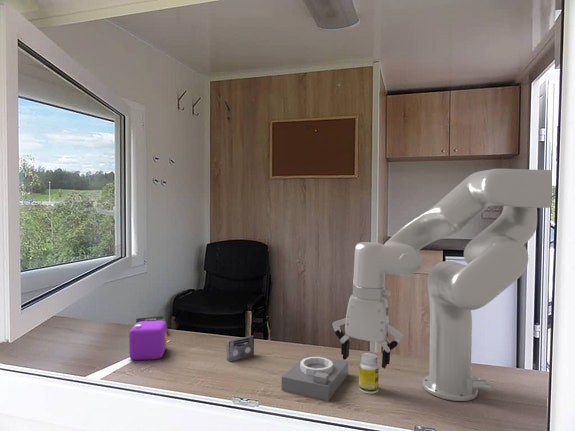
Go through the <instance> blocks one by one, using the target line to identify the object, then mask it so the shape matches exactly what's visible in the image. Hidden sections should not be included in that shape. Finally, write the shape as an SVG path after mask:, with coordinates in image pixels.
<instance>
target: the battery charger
mask: <svg viewBox="0 0 575 431" xmlns="http://www.w3.org/2000/svg"><path fill="white" fill-rule="evenodd" d="M141 321H165V318H164V315H160V316H159V315H158V316H150V317H140V318H136V319H135V324H136V323H138V322H141ZM165 322H166V321H165Z"/></svg>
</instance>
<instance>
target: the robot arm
mask: <svg viewBox="0 0 575 431" xmlns="http://www.w3.org/2000/svg"><path fill="white" fill-rule="evenodd" d="M551 197H552V169H527V168H526V169H524V168H523V169H522V168H520V169H519V168H517V169H516V168H491V169H486V170H480V171H477V172H476V171H475V172H473V173H472V174H470V175H469V176H467V177H466V178H464V179H463V181H461V182H460V183H459V184H458V185H456V186H455V187H454V188H453V189H452V190H451V191H450V192H448V193H447V194H446V195H445V196H443V198H442V199H440V200H439V201H438V202H437V203H436V204H434V206H432V207H431V208H429V209H428V210H426V211H425V212H423V213H422V214H420V215H419V216H418V217H416V218H414V219H413V220H411V221H410V222H408V223H407V224H406V225H404V226H402V227H401V228H400V229H399V230H398V231H396V232H395V233H394V234H393V235H392V236H391V237H390V238H389V239H388V240H387V241H385V243H380V242H372V241H370V242H369V241H362V242H358V243H357V244H356V245H355V246H354V247H355V248H354V259H353V260H354V263H353V280H352V281H353V283H352V294H351V295H350V297H349V299H348V300H349V301H348V302H347V309H346V315H345V317H344V318H342V319H339V320H338V319H337V320H335V321H333V322H332V324H331V325H332V328H333V331H334V332H335V335H336V337H337V338H338V340H339V342H340V343H341V349H340V352H341V355H342V360H343V361H346V360H347V359H348V358H349V356H350V343H351V342H350V340H349V339H350V338H353V339H356V340H362V341H368V342H371V343H372V342H373V343H379V344H380V346H381V347H382V348H383V351H382V353H381V356H382V357H381V358H382V359H381V368H382V369H386V368H387V365H389V364H390V363H391V362H390V360H391V351H392V350H393V349H395V348H396V347H397V346H398V345H399V343H400V342H401V340H402V339H403V337H404V334H403V333H402V332H401V331H399V330H397V329H396V328H394V327H393V326H392V325H390V316H389V314H390V312H389V305H388V304H389V303H388V300H387V299H386V297H390V296H391V290H387V288H386V285H385V283H386V281H385V279H386V274H391V275H397V276H402V277H405V276H406V277H408V276H412V275H414V274H416V273H417V272H419V271H420V269H421V267H422V265H423V258H422V254H421V253H420V250H422V249H424V247H426V246H428V245H430V244H432V243H434V242H436V241H438V240H443V239H447V238H450V237H452V236H455V235H457V234H458V233H459V232H461V231H462V230H463V229H464V228H465V227H466V226H468V225H469V224H470V223H471V222H472V221H473V220H474V219H475V218H476V217H478V216H479V215H480V214H482V213H483V212H484V211H485V210H486V209H487V208H489V207H491V206H492V207H495V206H496V207H503V208H502V212H501V214H499V216H498V217H497V218H496V219H495V220H494V221H493V222H492V223H491V224H490V225H488V226H487V227H486V228H485V229H483V230H482V231H481V232H480V233H479V234H477V235H476V236H475V237H473V238H472V239H471V240H470V241H469V242H468V243H467V244H466V246H465V248H464V249H463V258H464V261H465V262H466V264H464V263H463V264H462V263H459V262H457V261H453V260H452V261H450V260H444V261H441V262H438V263H436V264H435V265H434V266H433V267H432V268H431V269H430V271H429V272H428V277H427V291H428V300H429V313H430V314H429V317H430V318H429V364H428V365H429V371H428V372H429V374H428V375H426V376H424V377H423V379H422V387H423V389H424V390H426V392H428V393H429V394H431V395H433V396H435V397H437V398H440V399H443V400H447V401H454V402H467V401H472V400H474V399H476V398H477V397H478V394H479V390H483V391H485V392H493V383H492V382H487V379H486V378H481V377H480V378H479V377H476V375H473V370H472V342H473V340H472V339H473V338H472V337H473V336H472V335H473V332H472V331H473V317H472V311H475V310H479V309H481V308H483V307H485V306H486V305H488V304H489V303H490V302H491V301H493V300H494V299H495V298H496V297H498V296H499V295H500V294H501V293H503V292H504V291H505V290H507V288H509V287H510V286H511V285H512V284H514V283H516V281H517V280H518V279H519V278H520V277H522V276H523V274H524V272H525V271H526V269H527V267H528V264H529V252H528V250H527V247H526V246H525V244H527V242H528V241H530V239H531V238H532V237H533V236H534V235H535V233H536V231H537V227H538V209H550V206H551ZM343 325H344V332H343V330H342V329H341V327H340V326H343ZM389 334H390V335H392V336H394V339H393V340H392V341H391V342H390V340H389V339H388V337H389Z"/></svg>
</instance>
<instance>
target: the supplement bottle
mask: <svg viewBox="0 0 575 431" xmlns="http://www.w3.org/2000/svg"><path fill="white" fill-rule="evenodd" d="M358 369H359V370H358V389H359V391H360V392H361V393H364V394H370V395H371V394H376V393H378V392H379V377H380V376H379V373H380V372H379V371H380V370H379V369H380V368H379V364H378V355H376V354H374V353H370V352H365V353H361V354H360V362H359V363H358Z"/></svg>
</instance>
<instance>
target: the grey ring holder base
mask: <svg viewBox="0 0 575 431" xmlns="http://www.w3.org/2000/svg"><path fill="white" fill-rule="evenodd" d="M348 375H349V361H346V360H343V359H342V360H340V359H337V358H336V359H335V358H330V357H324V356H319V355H314V354H309V353H308V354H305V355H304V356H303V357H302V358H301V359H300V360H299V361H297V363H295V364H294V365H292V367H291V368H289V369H288V371H287V372H285V373H283V375H282V376H281V391H282V390H283V391H282V392H286V391H287V393H290V392H291V393H290V394H295V395H300V396H304V397H307V398H308V397H309V398H312V399H317V400H320V401H324V402H329V400H331V398H332V397H333V396H334V394H335V393H336V392H337V390H339V388H340V386H341V385H342V383H343V382H344V381H345V379H346V378H347V377H348Z"/></svg>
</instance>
